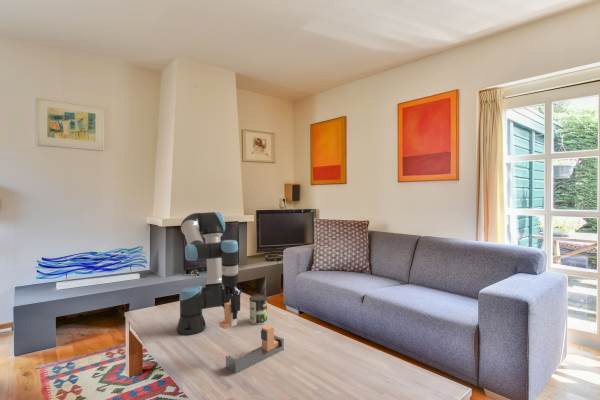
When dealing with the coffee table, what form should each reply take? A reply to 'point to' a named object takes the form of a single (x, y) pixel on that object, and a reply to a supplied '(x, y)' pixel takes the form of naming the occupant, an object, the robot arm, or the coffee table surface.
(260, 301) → the coffee can
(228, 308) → the block
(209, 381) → the coffee table surface
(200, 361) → the coffee table surface
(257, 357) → the rail
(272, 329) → the fixed finger
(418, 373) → the coffee table surface
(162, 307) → the coffee table surface
